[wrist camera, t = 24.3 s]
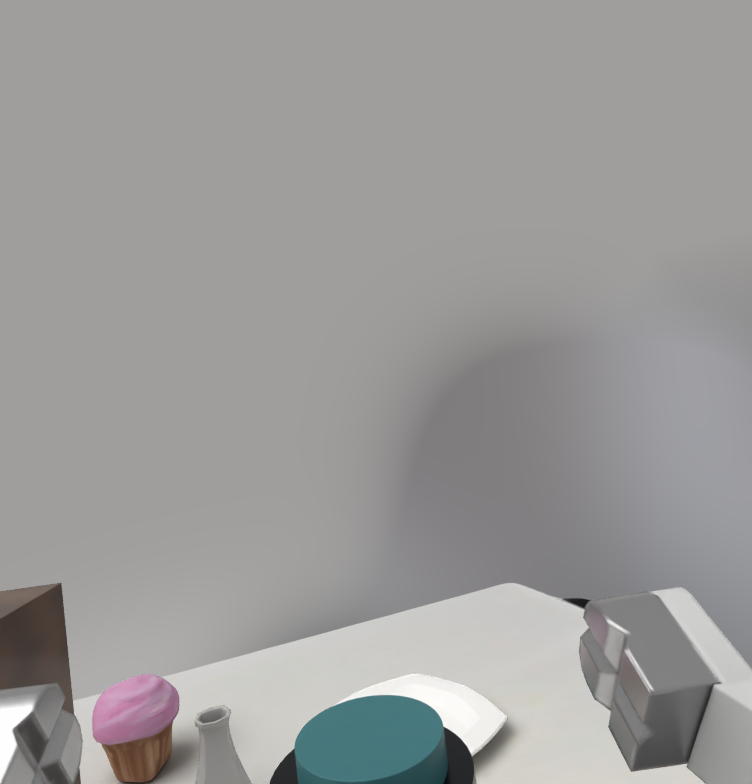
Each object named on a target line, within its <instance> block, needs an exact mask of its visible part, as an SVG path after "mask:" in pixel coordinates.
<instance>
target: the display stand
mask: <svg viewBox="0 0 752 784" xmlns="http://www.w3.org/2000/svg"><path fill="white" fill-rule="evenodd" d="M444 735H445V743H446V751H447V759H448V771H447V776H446V778H445V781H444V783H443V784H477V783H476V776H475V768H474V762H473V758H472V755H471V753H470V751H469V749H468V747H467V746H466V744H465V743H464V742H463V741H462V739H460V738H459V737H458V736H457V735H456V734H455V733H453V732H452V731H450V730H449V729H447V728H445V727H444ZM270 784H298V777H297V769H296V760H295V749H293V750H292V751H291V752H290V753H289V754H288V755H287V756H286V757H285V758H284V759H283V761H282V762H281V763H280V764H279V766H278V767H277V769H276V770H275V772H274V774H273V776H272V778H271V781H270Z"/></svg>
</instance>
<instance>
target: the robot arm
mask: <svg viewBox="0 0 752 784" xmlns="http://www.w3.org/2000/svg"><path fill="white" fill-rule="evenodd" d="M583 618H584V619H585V621H586V623H587V625H588V627H589V628H588V630H587V631H586V632H585V633H584V634H583V635H582V636H581V637H580V647H579V655H580V661H581V667H582V671H583V674H584V677H585V679H586V682H587V685H588V687H589V689H590V691H591V693H592V695H593V697H594V699H595V700H597V701H598V702H599V703H601V704H602V705H603V706H605V707H606V708H607V709H609V710H610V711H611V714H610V720H609V726H608V727H609V729H610V731H611V733H612V735H613V737H614V739H615V741H616V743H617V745H618V747H619V749H620V751H621V753H622V755H623V757H624V759H625V761H626V763H627V765H628V767H629V769H630V771H631V772H632V771H639V770H646V769H653V768H660V767H667V766H673V765H680V764H687V763H688V764H687V768H688V769H689V770H691V771H692V772H693V773H694V774H695V775H696V776H698V777H699V778H700V779H701V780H702V781H703V782H704V783H706V784H752V669H751V667H750V666H749V665H748V664H747V663H746V661H745V660H744V659H743V657H742V656H741V655H740V654H739V653H738V651H737V650H736V649H735V648H734V646H733V645H732V644H731V643H730V642H729V640H728V639H727V638H726V637H725V636H724V634H723V633H722V632H721V630H720V629H719V628H718V627H717V626H716V624H715V623H714V622H713V621H712V620H711V618H710V617H709V616H708V615H707V613H706V612H705V611H704V610H703V608H702V607H701V606H700V605H699V603H698V602H697V601H696V600H695V599H694V597H693V596H692V595H691V594H690V592H688V591H687V590H685V589H684V588H682V587H678V588H670V589H664V590H658V591H651V592H640V593H634V594H628V595H622V596H616V597H610V598H604V599H598V600H592V601H589V602H588V604H587V605H586V606H585V611H584V617H583ZM65 697H66V696H65V695H64V693H63V691H62V690H61V688H60V686H59V685H58V683H51V684H43V685H35V686H27V687H19V688H11V689H3V690H0V784H74V782H75V779H76V776H77V773H78V769H79V766H80V762H81V752H82V742H83V740H82V734H81V728H80V725H79V723H78V720H77V718H76V716H75V715H73V714H71V713H69V712H67V711H65V710H63V709H61V708H62V705H63V702H64V700H65Z"/></svg>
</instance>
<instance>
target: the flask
mask: <svg viewBox="0 0 752 784" xmlns="http://www.w3.org/2000/svg"><path fill="white" fill-rule="evenodd" d="M230 714H231V710H230V709H229V708H228V707H226V706H224V705H222V706H217V707H211V708H208V709H206V710H204V711H202V712H200V713H198V714H197V716H196V719H195V725H196V727H198V728H199V734H200V756H199V767H198V772H197V777H196V782H195V784H252V783H251V781H250V780H249V778H248V776H247V774H246V772H245V770H244V768H243V766H242V764H241V761H240V759H239V757H238V755H237V753H236V751H235V748H234V745H233V741H232V738H231V735H230V730H229V722H228V721H229V718H230Z"/></svg>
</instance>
